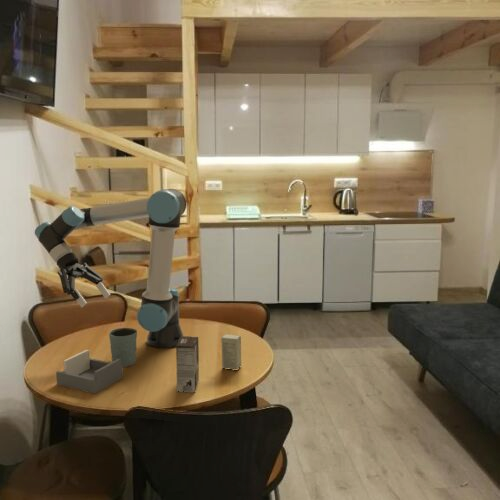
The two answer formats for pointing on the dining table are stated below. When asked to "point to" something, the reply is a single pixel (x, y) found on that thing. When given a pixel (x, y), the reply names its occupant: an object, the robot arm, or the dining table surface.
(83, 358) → the pusher
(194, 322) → the dining table surface
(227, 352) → the skincare box
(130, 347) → the grey-green cup
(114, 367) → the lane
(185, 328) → the dining table surface
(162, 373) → the dining table surface
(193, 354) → the coffee box
